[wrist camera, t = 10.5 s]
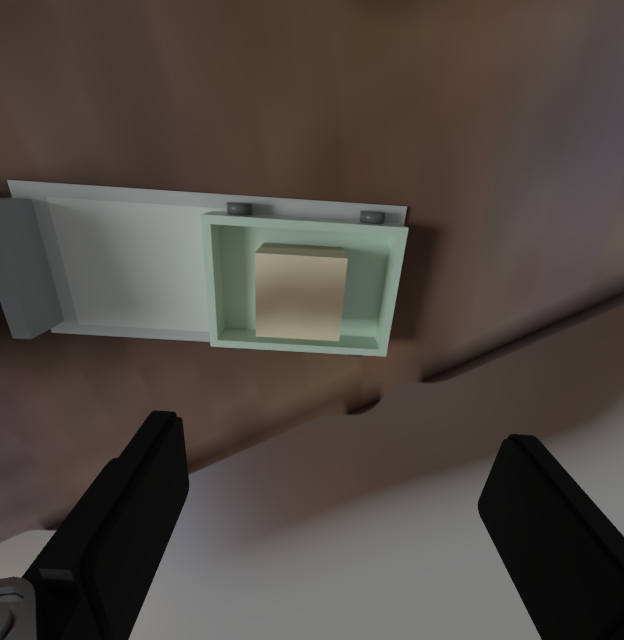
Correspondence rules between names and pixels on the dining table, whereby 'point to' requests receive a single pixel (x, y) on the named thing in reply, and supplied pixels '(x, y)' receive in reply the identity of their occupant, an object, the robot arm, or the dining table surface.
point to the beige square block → (299, 291)
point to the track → (121, 257)
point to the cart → (254, 229)
